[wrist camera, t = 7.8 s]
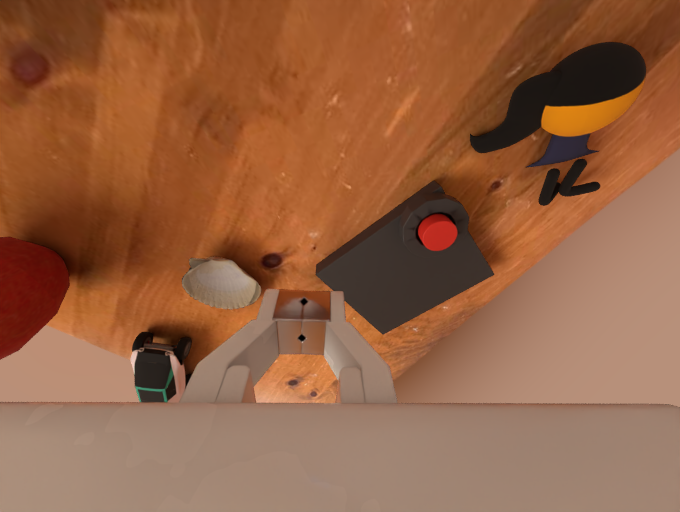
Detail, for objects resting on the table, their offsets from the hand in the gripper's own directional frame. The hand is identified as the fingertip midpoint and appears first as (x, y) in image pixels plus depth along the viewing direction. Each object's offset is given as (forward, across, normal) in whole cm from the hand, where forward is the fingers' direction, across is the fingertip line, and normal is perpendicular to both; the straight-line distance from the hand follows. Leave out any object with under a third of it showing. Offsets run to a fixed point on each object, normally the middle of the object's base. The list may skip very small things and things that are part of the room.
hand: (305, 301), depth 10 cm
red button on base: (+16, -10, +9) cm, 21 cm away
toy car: (+16, +20, +27) cm, 38 cm away
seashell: (+16, +10, +12) cm, 23 cm away
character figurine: (+16, -19, -6) cm, 26 cm away
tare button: (+13, -11, +3) cm, 17 cm away
